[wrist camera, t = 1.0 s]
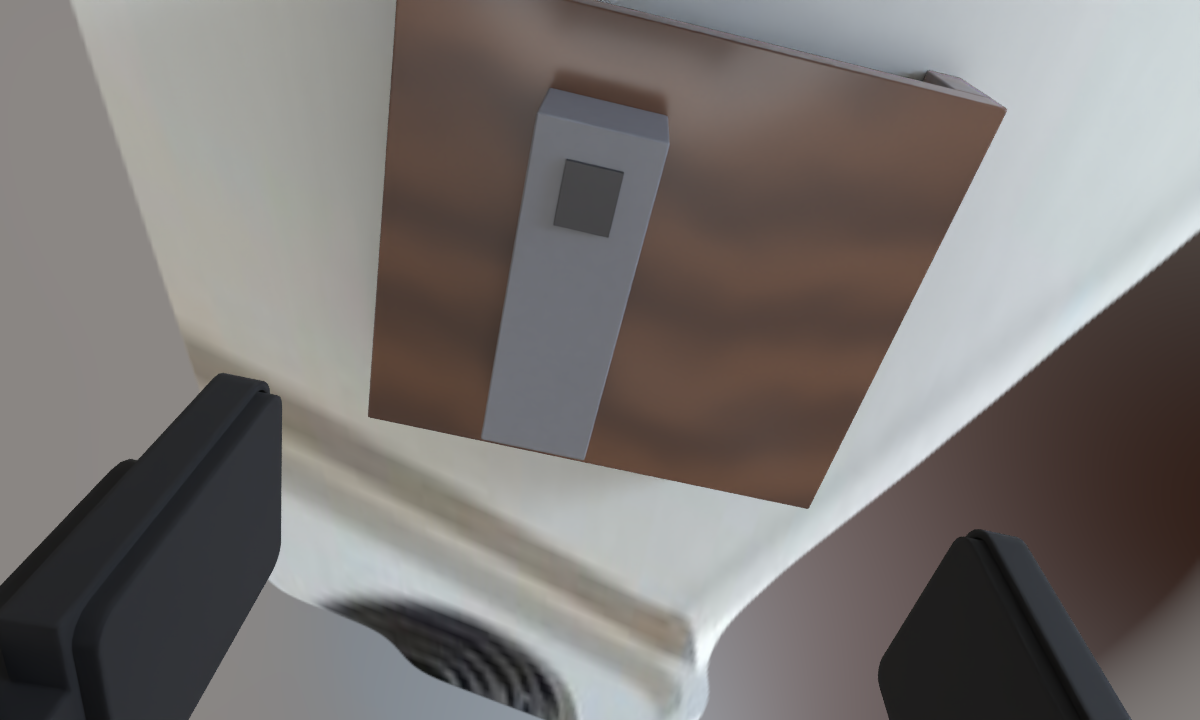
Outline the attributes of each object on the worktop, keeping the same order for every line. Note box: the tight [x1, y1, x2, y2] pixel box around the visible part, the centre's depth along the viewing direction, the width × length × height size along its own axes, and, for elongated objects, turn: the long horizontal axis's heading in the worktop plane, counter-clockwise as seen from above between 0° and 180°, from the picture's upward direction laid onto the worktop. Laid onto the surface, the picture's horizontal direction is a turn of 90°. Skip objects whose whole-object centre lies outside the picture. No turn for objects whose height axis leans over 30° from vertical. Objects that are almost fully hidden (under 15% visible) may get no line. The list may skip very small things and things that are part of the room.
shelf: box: [368, 0, 1007, 509], centre depth 34 cm, size 20×22×5 cm
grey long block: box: [481, 88, 669, 460], centre depth 30 cm, size 14×4×4 cm, turn 168°
